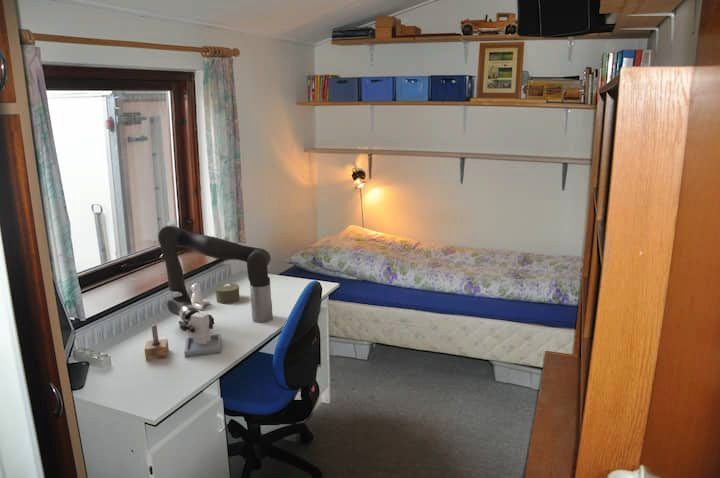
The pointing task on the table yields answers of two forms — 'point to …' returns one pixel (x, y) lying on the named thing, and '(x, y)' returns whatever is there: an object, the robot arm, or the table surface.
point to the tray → (203, 346)
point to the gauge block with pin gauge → (156, 347)
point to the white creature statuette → (197, 298)
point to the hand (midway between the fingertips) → (202, 328)
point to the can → (227, 293)
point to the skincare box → (201, 328)
